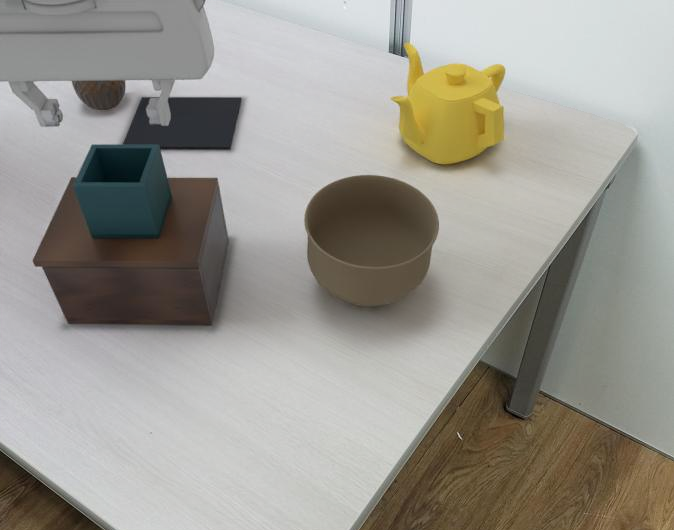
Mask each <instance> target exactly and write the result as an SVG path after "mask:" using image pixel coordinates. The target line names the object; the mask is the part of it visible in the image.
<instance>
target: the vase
mask: <svg viewBox="0 0 674 530" xmlns="http://www.w3.org/2000/svg"><path fill="white" fill-rule="evenodd" d="M71 84H72V85H71V86H72V87H73V90H74V92H75V94H76V96H77V97H78V98H79V100H80V101H81V102H82V103H83V105H85V106H87V107H88V108H90V109H92V110H95V111H99V112H105V111H111V110H113V109H115V108H117V107H118V106H119V105H120V104H121V102H122V101H123V100H124V97H125V95H126V88H127V87H126V86H127V85H126V80H103V81H71Z"/></svg>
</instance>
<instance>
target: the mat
mask: <svg viewBox="0 0 674 530" xmlns="http://www.w3.org/2000/svg"><path fill="white" fill-rule="evenodd" d="M159 97H160V96H158V97H157V96H156V97H155V96H148V97H147V96H142V97H141V98H140V101H139V104H138V105H137V107H136V111H135V113H134V116H133V118H132V120H131V123H130V125H129V128H128V131H127V132H126V135H125V138H124V140H123V143H122V144H123V145H159V146H160V150H214V151H215V150H218V151H219V150H223V151H224V150H225V151H226V150H227V151H228V150H229V151H230V150H231V147H232V143H233V138H234V134H235V130H236V125H237V123H238V122H237V121H238V117H239V113H240V109H241V105H242V101H243V99H242V97H240V96H239V97H238V96H236V97H234V96H231V97H230V96H229V97H221V96H220V97H219V96H218V97H217V96H215V97H213V96H212V97H211V96H210V97H207V96H205V97H204V96H201V97H200V96H199V97H197V96H196V97H195V96H194V97H192V96H191V97H190V96H189V97H188V96H185V97H184V96H182V97H181V96H180V97H179V96H176V97H175V96H174V97H173V96H169V98H168V104H169V108H170V113H171V119H170V122H169V125H168V126H151V125H150V124H149V119H150V118H149V117H148V116H147V112H146V107H147V105H148V104H149V100H150V98H159Z"/></svg>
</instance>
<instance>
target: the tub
mask: <svg viewBox="0 0 674 530" xmlns="http://www.w3.org/2000/svg"><path fill="white" fill-rule="evenodd" d="M76 177H77V178H76V180H75V182H74V184H73V189H74V191H75V194H76V197H77V199H78V202H79V205H80V207H81V210H82V213H83V215H84V218H85V221H86V223H87V226H88V229H89V231H90V234H91V237H92V238H146V239H159V237H160V234H161V231H162V227H163V224H164V221H165V218H166V214H167V211H168V208H169V204H170V201H171V198H172V194H171V190H170V186H169V182H168V178H169V177H168V175H167V171H166V166H165V162H164V158H163V155H162V149H160V146H159V145H123V143H122V144H117V143H116V144H113V143H112V144H107V143H105V144H103V143H102V144H95V143H94V144H91V145H90V147H89V150H88V151H87V154H86V156H85V158H84V160H83V163H82V164H81V167H80V169H79V171H78V174H77V176H76Z"/></svg>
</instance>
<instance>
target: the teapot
mask: <svg viewBox="0 0 674 530" xmlns="http://www.w3.org/2000/svg"><path fill="white" fill-rule="evenodd" d="M403 47H404V49H405V52H406V54H407V56H408V75H407V83H406V92H407V97H406V96H401V95H396V96H392V97H391V98H390V101H392V102H393V103H396V104H397V105H398V107H399V122H398V130H399V134H400V135H401V137H402V139H403V141H404V142H405V143H406V145H407V146H408V147H409V148H410V149H412V150H413V151H414V152H415V153H417V154H418V155H419V156H420V157H423V158H424V159H426V160H428V161H430V162H432V163H433V164H434V163H435V164H437V165H452V164H457V163H461V162H464V161H467V160H470V159H472V158H474V157H476V156H478V155H480V154H481V153H483V152H484V151H485V150H486V149H487V148H488V147H492V146H496V145H498V144H499V143H500V142H503V141H504V140H505V124H504V123H505V121H504V120H505V119H504V115H505V114H504V106H503V105H501V103H500V99H499V97H498V93H497V92H499V89H500V88H501V85H502V84H503V81H504V78H505V75H506V68H505V66H504V65H502V64H500V63H496V64H492V65H490V66H488V67H485V68H484V69H482V70H481V71H479V70H478V69H476V68H474V67H472V66H470V65H467V64H465V63H460V62H459V63H457V62H456V63H448V64H445V65H440V66H438V67H435V68H432V69H430V70H428V71H426V72H425V73H424V68H423V64H422V61H421V56H420V54H419V52H418V50H417V48H416V47H415V46H414V45H412V44H411V43H410V42H404V43H403Z"/></svg>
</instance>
